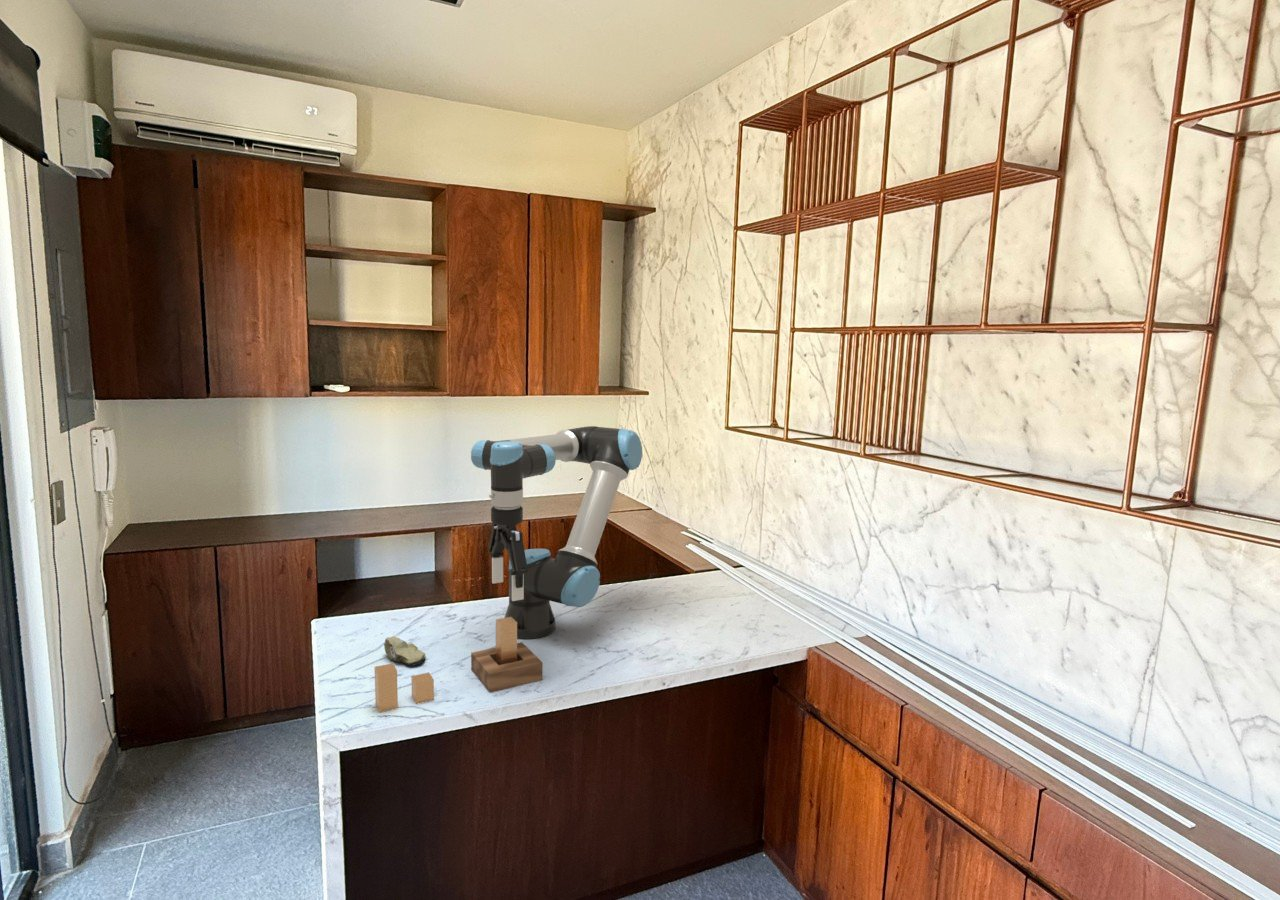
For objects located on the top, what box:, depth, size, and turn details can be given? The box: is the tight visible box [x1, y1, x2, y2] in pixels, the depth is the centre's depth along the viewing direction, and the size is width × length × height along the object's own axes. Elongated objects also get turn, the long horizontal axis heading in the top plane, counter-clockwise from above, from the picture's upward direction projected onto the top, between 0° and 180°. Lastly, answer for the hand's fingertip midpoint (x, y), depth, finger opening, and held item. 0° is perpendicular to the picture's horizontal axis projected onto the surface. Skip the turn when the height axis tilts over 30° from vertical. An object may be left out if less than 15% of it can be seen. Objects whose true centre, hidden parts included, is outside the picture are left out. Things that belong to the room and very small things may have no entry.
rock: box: [383, 636, 427, 667], centre depth 178 cm, size 11×6×10 cm
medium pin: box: [374, 663, 399, 713], centre depth 155 cm, size 4×4×9 cm
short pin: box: [411, 672, 435, 705], centre depth 159 cm, size 4×4×5 cm
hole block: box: [470, 641, 544, 693], centre depth 172 cm, size 14×14×4 cm
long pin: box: [495, 617, 518, 665], centre depth 171 cm, size 4×4×14 cm
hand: (507, 590), depth 170 cm, fingers open, 13 cm apart
